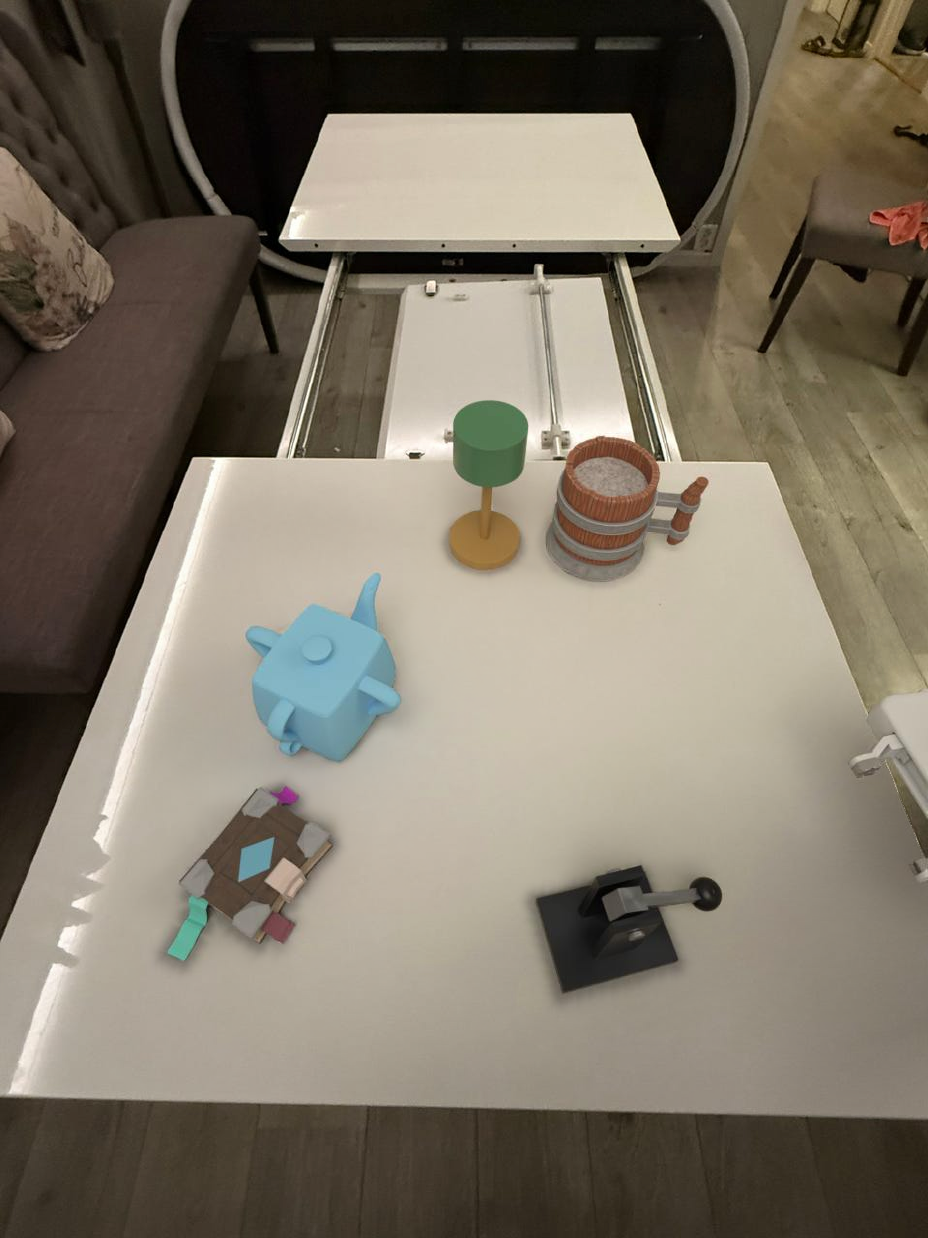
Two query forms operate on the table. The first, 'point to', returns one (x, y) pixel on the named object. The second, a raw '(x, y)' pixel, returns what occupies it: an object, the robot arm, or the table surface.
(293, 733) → the teapot
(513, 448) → the lamp
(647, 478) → the mug
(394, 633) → the table surface
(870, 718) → the robot arm
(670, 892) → the lever
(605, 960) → the switch bracket
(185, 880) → the book
